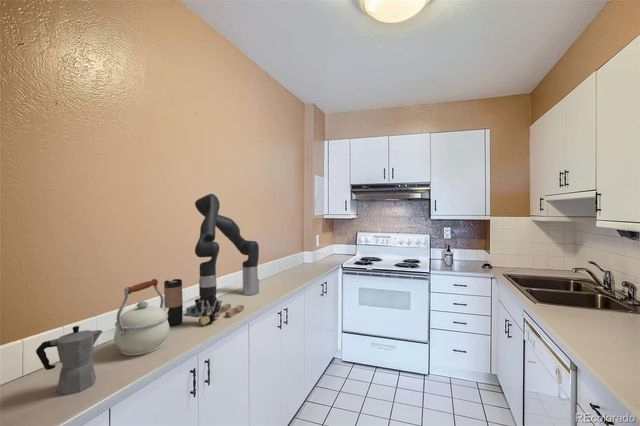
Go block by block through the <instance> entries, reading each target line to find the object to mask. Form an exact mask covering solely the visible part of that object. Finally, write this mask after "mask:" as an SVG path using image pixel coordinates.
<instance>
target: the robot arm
mask: <svg viewBox="0 0 640 426" xmlns="http://www.w3.org/2000/svg"><path fill="white" fill-rule="evenodd" d="M220 205H221V204H220V200H219V198H218V197H217V195H215V194H213V193H209V194H206V195H204V196H202V197H200V198H198V199H196V201H195V202H194V206H195V208H196V210H197V211H198V212H199V213H200V215H202V216H203V217H204V219H203V220H202V223H201V225H200V230H199V239H198V240H197V243H196V245H195V247H194V252H195V256H197V257H198V258H210V260H207V261H204V262H201V263H200V264H199V277H198V278H199V280H198V285H199V288H198V289H199V290H198V291H199V292H198V295H199V296H200V297H199V298H196V299H195V300H194V302H195V304H196V306H197V309H198V312H201V313H202V316H201V317H203V316H205V315H208V313H207V308H208V310H209V311H210V312H209V314H210V322H209V324H210V323H211V324H212V323H214V322H215V320H216V319H215V313H217V312H219V309H220V307H221V306H222V302H223V301H222V300H218V299H217V276H216V275H217V274H216V273H217V270H216V268H217V267H216V266H217V259H218V255H219V253H220V244H219V243H218V241H215V239H216V228H217V229H218V230H219V232H221V233H222V234H223V236H224V237H226V238H227V239H228V240H229V241H230V242H231V243H232V244H233V245H234V246H235V248H236V249H237V251H239V252H240V254H241V255H244V256H247V259H246V260H245V261H243V262H242V295H244V296H255V295H257V294H260V278H259V277H258V273H259V272H258V269H259V268H258V265H259V264H258V263H259V256H260V255H259V254H260V253H259V251H260V247H259V243H258V242H257V241H256V240H246V239H245V238H244V237H243V236H242V235H241V229H240V227H239V226H238V224H237V223H236V222H235V221H234V220H233V219H232V218H230V217H228V216H224V215H221V214H219V211H220ZM211 306H212V307H211ZM200 308H201V309H200ZM212 310H213V311H212Z"/></svg>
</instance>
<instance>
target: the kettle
mask: <svg viewBox="0 0 640 426" xmlns="http://www.w3.org/2000/svg"><path fill="white" fill-rule="evenodd" d="M158 284H159V281H158V279H157V278H153V279H151V280H149V281H144V282H141V283H137V284H134V285H133V286H126V287H124V290H123V291H124V299H123V301H122V303H121V305H120V307H119V309H118V311H117V314H116V322H115V323H114V326H115V328H116V329H115V332H114V335H113V341H114V344H115V346H116V347H117V348H118V349H119V350H120V353H121V354H122V355H124V356H131V357H133V356H141V355H146V354H149V353H152V352H155V351H156V350H157V351H158V350H159V349H160V348H161V347H162V346H163V345H164V344H165V340H166V339H167V337H168V336H169V333H170V326H169V323H168V320H167V318H168V314H167V313H168V310H169V308H164V295H163V294H162V292H161V291H160V290H159V288H158ZM152 286H153V288H154V291H156V293H157V294H158V295H159V299H160V305H159V306H156V305H149V303H148V302H147V301H145V300H141V301H139V302H138V303H137V304H136V307H133V308H131V309H129V310H126V311H125V312H124V313H123V311H124V308H125V306H126V304H127V302H128V300H129V296H130V295H131V294H132V293H137V292H139V291H143V290H145V289H148V288H150V287H152Z"/></svg>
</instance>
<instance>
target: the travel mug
mask: <svg viewBox="0 0 640 426" xmlns="http://www.w3.org/2000/svg"><path fill="white" fill-rule="evenodd" d="M163 285H164V286H163V289H164V290H163V291H164V295H163V297H164V305H163V309H164V308H169V310H168V313H167V314H168V318H167V320H168V323H169V327H176V326H180V325H181V324H182V323H183V315H184V314H183V313H184V312H183V310H184V307H183V303H184V302H183V279H181V278H174V279H172V280H165V281H164V282H163Z"/></svg>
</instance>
